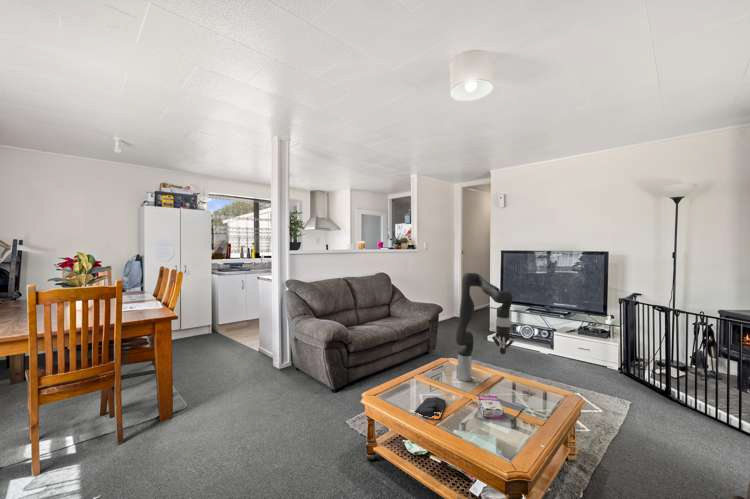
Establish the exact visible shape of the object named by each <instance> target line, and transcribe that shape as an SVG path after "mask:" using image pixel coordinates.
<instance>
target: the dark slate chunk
mask: <svg viewBox="0 0 750 499" xmlns="http://www.w3.org/2000/svg"><path fill="white" fill-rule="evenodd" d="M446 403H447V402H446V399H443V398H440V397H438V396H432V397H426V398H425V399H424V400H423V402H421V403H420V404H419V406H417V408H416V409H415V410H414V412H416V413H419V414H421V415H423V416H428V417H432V416H434V415H435V414H434V412H440V413H441V412H442V410H443V411H444V410H445V406H446ZM416 413H415V414H416Z"/></svg>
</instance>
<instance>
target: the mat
mask: <svg viewBox="0 0 750 499" xmlns="http://www.w3.org/2000/svg"><path fill="white" fill-rule="evenodd" d="M497 399H498V400H499V402H500V404H502V405H503V406H505V407H508V408H511V409H514V410H518V411H521V412H523V410H524V409H525V407H524V406H522V405H519V404H515V403H512V402H509V401H506V400H503V399H500V398H497ZM516 417H517V416H513V415H510V414H507V413H504V419H508V420H509V421H514V420H515V418H516Z"/></svg>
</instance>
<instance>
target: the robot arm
mask: <svg viewBox="0 0 750 499" xmlns="http://www.w3.org/2000/svg"><path fill="white" fill-rule="evenodd" d="M461 279H462V281H461V301H460V308H459V317H458V322H457V328H456V333H455V342H456V344H457V345H458V346H461V347H460V348H459V349H458V350H457V364H456V379H457V380H459V381H461V382H471V381H472V359H473V357H472V354H473V351H474V335H473V333H472V332H471V331H469V330H467V328H468V325H469V323H470V322H471V321H472V319H473V317H474V312H475V304H474V301H473V299H472V297H471V293H470V292H471V291H470V290H471V287H479V288H481V290H482V291H483V293H484V294H486V295H487V296H489V297H491V299H492V300H493V302H494V303H497V304H501V305H500V306H498V307H497V308H496V320H495V321H496V322H495V330H496V331H495V332H496V333H495V335H494V336H492V337H491V339H492V340H493V341H494V343H495V345H496V346H497V347H499V353H500V354H501V355H506V352H507V349H508V348H510V346H511V345H512V344H513V343H514V342H515V340H514V339H513V338H512V337H511V321H510V320H511V319H510V310H511V307H512V303H513V295H512V293H511V292H510V291H509V290H500V288H499V287H497V285H494V284H492V283H490V282H488V281H487V280H486V279H485V278H483V277H482V276H481V275H480V274H479V273H477V272H465V273H463V275H462V278H461Z"/></svg>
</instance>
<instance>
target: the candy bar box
mask: <svg viewBox="0 0 750 499" xmlns="http://www.w3.org/2000/svg"><path fill="white" fill-rule="evenodd" d="M498 399H499V398H498V396H497V395H486V394H477V395H476V404H477V406H478V408H479V411H480V413H481V416H482V417H483V418H494V419H505V417H504V409H503V408H502V406H501V404H500V402H499V400H498Z"/></svg>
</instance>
